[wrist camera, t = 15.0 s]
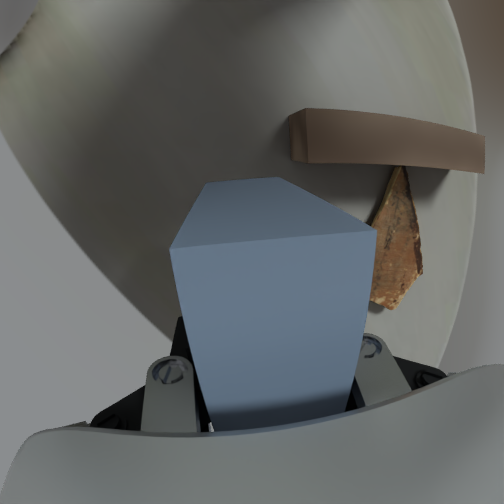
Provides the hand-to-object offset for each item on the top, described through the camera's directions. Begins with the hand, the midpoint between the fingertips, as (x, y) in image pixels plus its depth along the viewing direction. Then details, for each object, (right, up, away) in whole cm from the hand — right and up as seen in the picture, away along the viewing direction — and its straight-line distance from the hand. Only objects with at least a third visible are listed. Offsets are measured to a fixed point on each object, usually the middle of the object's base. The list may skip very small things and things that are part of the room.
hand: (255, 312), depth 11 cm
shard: (+10, +3, +10) cm, 14 cm away
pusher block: (0, +1, +2) cm, 2 cm away
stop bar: (+10, +11, +6) cm, 16 cm away
